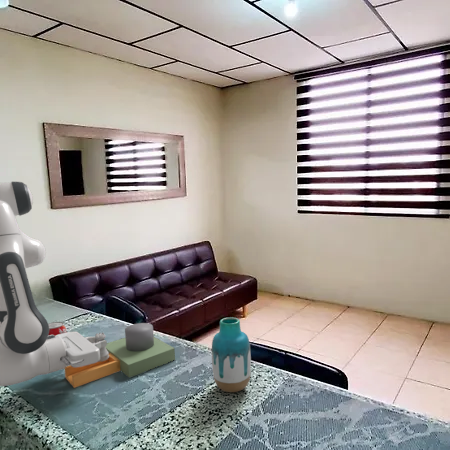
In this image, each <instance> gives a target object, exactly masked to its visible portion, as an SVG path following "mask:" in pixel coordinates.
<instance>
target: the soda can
mask: <svg viewBox="0 0 450 450" xmlns="http://www.w3.org/2000/svg"><path fill="white" fill-rule="evenodd" d="M48 325H49V334H48V336H49V335H54V336H56V335H58V334H62V333H67V332H68V331H67V327H66V326H65V324H64V322H63V321H54V322H49V323H48Z"/></svg>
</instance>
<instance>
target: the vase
mask: <svg viewBox="0 0 450 450" xmlns="http://www.w3.org/2000/svg"><path fill="white" fill-rule="evenodd" d="M211 341H212V342H211V365H212V366H211V367H212V374H213V375H212V376H213V380H214V382H215V384H216V386H217V388H219V389H220V390H222V391H223V392H227V393H237V392H241V391H242V390H244V389H246V387H247V386H248V385H249V382H250V380H251V373H252V372H251V371H252V362H251V361H252V356H251V344H250V339H249V336H248V335H247V334H246V333H245V332H244V331H242V330H241V321H240V319H238V318H237V317H233V316H232V317H231V316H230V317H224V318H222V319H220V321H219V331H218V332H217V333H216V334H214V336H213V338H212V340H211Z"/></svg>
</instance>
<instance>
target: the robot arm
mask: <svg viewBox="0 0 450 450" xmlns="http://www.w3.org/2000/svg"><path fill="white" fill-rule="evenodd" d="M33 203H34V196H33V194H32V192H31V190H30V188H29V187H28V185H27V184H25V183H24V182H22V181H10V182H0V387H7V386H8V387H9V386H12V385H17V384H20V383H23V382H27V381H29V380H32V379H33V378H35V377H39V376H41V375H48V374H51V373H54V372H57V371H60V370H61V371H62V370H63V369H64V370H65V368H66V366H69V365H71V366H72V367H82V366H86V365H90V364H93V363H96V362H98V361H99V360H100V350H99V349H100V348H102V347H105V346H107V343H108V341H107V340H105V338H104V339H103V340H99V342H98V343H96V339H95V336H86V337H84V335H82V334H81V333H79V332H78V331H66V332H67V333H62V334H58V335H56V336H54V335H49V336H48V334H49V325H48V324H49V323H48V320H47V319H46V317H45V316H44V315H43V314H42V313H41V311H40V310H39V309H38V307H37V306H36V303H35V300H34V296H33V292H32V289H31V285H30V283H29V277H28V275H27V270H26V269H29V268H33V267H35V266H40V265H41V264H42V263H43V262H44V260H45V258H46V253H47V252H46V248H45V245H44V244H43V242H42V241H40V240H39V239H37V238H33V237H31V236H29V235H28V234H26V233H25V232H24V231H23V230H21V228H20V226H19V224H18V220H17V216H19V217H21V216H23V215H26V214H28V213H29V212H31V210H32V207H33Z"/></svg>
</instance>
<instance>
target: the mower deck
mask: <svg viewBox="0 0 450 450" xmlns="http://www.w3.org/2000/svg"><path fill="white" fill-rule="evenodd" d="M124 333H125V335H124V336H125V337H123V338H119V339H117V340H113V341H109V342H107V346H105V347H106V349H107V351H108V352H109V358H108V359H107V360H106V361H103V362H96V363H93V364H90V365H86V366H82V367H72V366H71V365H68V366H66V368H64V376H65V379H66V380H67V381H68V383H69V384H70V385H71V386H72V387H73V388H74V389H76V388H78V387H80V386H83V385H86V384H89V383H91V382H94V381H96V380H100V379H102V378H106V377H107V376H110V375H113V374H115V373H119V372H121V373H123V374H124V375H125V376H127V377H128V378H129V379H130V378H133V377H135V376H137V375H141V374H143V373H146V372H147V371H151V370H154V369H155V367H156V368H158V367H157V366H159V367H161V366H163V364H164V365H165V364H168V362H169V363H170V361H171V362H174V361H176V351H175V347H174V346H171V345H170V344H167V342H164V341H163V340H160V339H159V338H157V337H155V336H154V326H153V324H151V323H147V322H140V323H134V324H130V325H128V326H126V327H125V329H124ZM173 360H174V361H173ZM150 369H151V370H150ZM145 371H146V372H145Z"/></svg>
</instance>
